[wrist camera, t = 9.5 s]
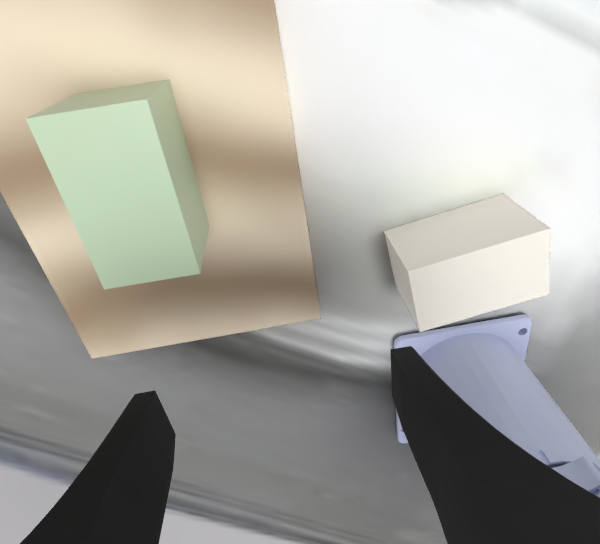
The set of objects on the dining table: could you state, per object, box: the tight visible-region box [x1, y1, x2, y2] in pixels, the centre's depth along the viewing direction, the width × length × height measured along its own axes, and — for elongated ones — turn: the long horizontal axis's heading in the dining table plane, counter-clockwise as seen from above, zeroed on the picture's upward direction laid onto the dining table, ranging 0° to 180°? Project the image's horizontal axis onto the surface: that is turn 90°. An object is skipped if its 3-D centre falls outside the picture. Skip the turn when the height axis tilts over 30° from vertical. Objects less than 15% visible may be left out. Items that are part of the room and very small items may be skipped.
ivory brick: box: [384, 194, 550, 332], centre depth 20 cm, size 6×4×4 cm, turn 107°
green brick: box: [26, 79, 209, 290], centre depth 16 cm, size 6×4×4 cm, turn 8°
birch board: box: [0, 0, 321, 358], centre depth 18 cm, size 18×12×1 cm, turn 8°
